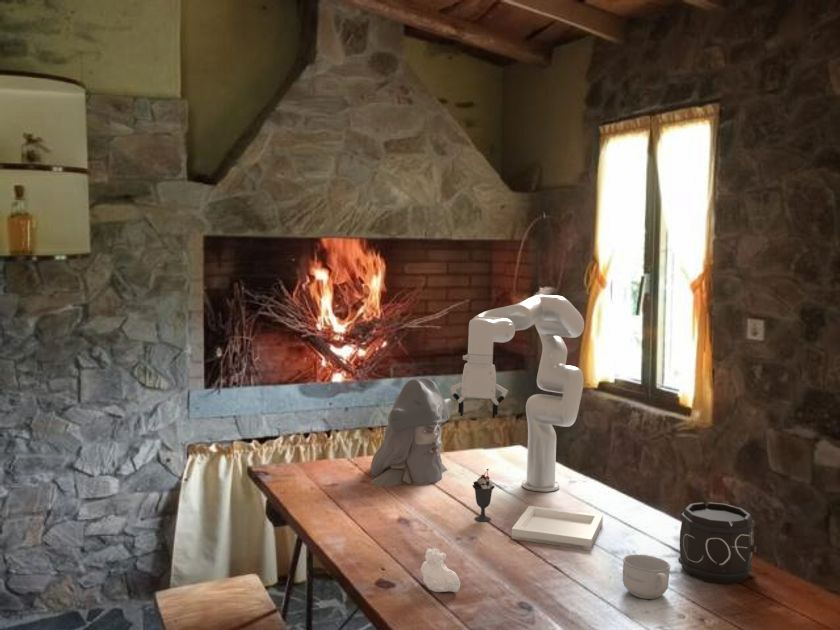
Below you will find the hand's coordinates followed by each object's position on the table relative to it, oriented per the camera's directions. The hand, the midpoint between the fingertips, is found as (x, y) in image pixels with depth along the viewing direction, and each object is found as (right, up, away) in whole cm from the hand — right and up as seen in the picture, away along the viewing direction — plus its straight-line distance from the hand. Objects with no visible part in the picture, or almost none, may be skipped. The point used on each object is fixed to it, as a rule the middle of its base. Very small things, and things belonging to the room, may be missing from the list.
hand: (477, 416), depth 251 cm
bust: (-20, -27, +43) cm, 55 cm away
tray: (+22, -32, -12) cm, 40 cm away
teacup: (+36, -36, -55) cm, 75 cm away
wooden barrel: (+58, -35, -39) cm, 78 cm away
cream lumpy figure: (-13, -35, -53) cm, 65 cm away
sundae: (+1, -31, -2) cm, 31 cm away
